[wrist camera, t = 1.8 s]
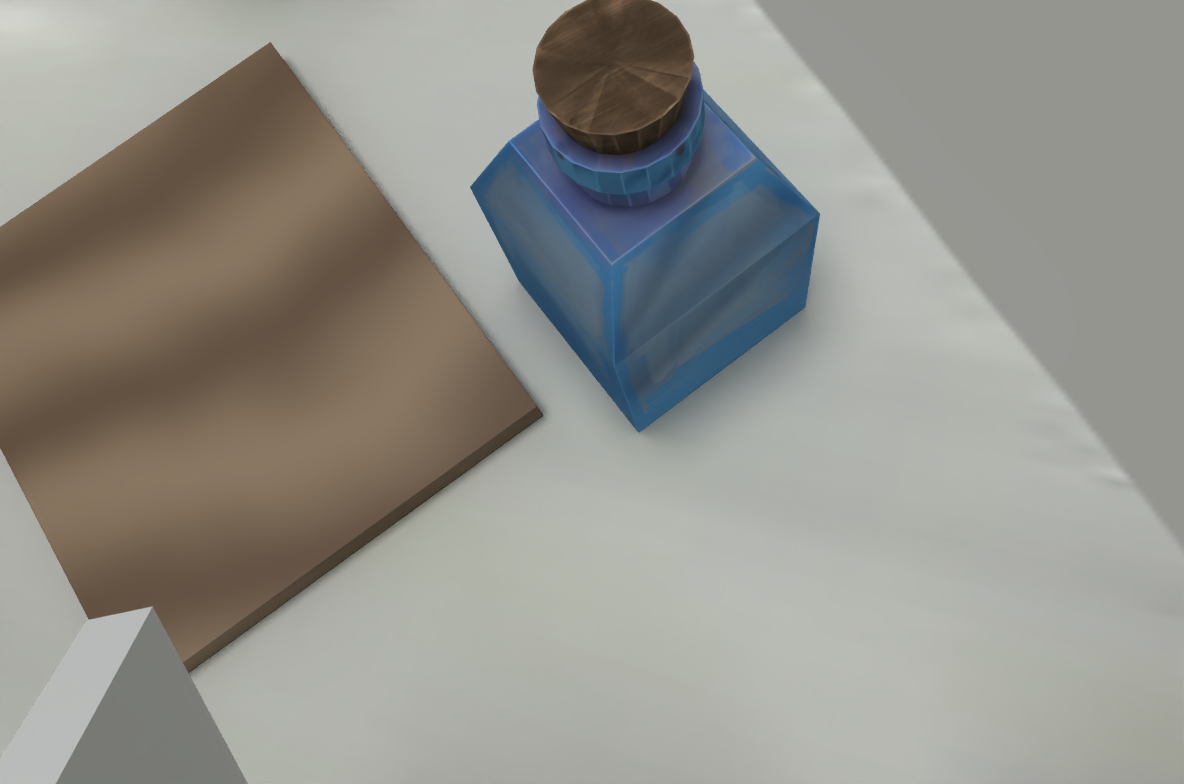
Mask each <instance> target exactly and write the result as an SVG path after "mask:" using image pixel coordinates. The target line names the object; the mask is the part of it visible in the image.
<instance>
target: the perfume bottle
mask: <svg viewBox="0 0 1184 784" xmlns="http://www.w3.org/2000/svg"><path fill="white" fill-rule="evenodd" d="M693 60H694V54H693V49H692V45H691V40H690V36H689V34H688V32H687V31H686V29H685V28H684V26H683V25H682V23H681V22H680V20H679V19H678V17H677V16H676V15H674V14H673V13H672V12H670V11H669V10H668V9H666V8H665V7H663V6H662V5H661V4H659V3H657V2H654V1H651V0H586V1H584V2H582V3H581V4H579V5H577V6H575V7H573V8H571V9H569V10H567V11H565V12H564V13H563V14H562V15H561V16H560V17H559V18H558V19H557V20H556V21H555V22H554V23H553V24H552V25H551V26H550V27H549V28H548V29H547V31H546V33H545V34H544V36H543V38H542V40H541V41H540V43H539V45H538V47H537V49H536V55H535V60H534V65H533V75H534V81H535V87H536V92H537V94H538V95H539V96H538V101H537V108H538V114H539V120H537V121H536V122H534V123H533V124H532V125H530V126H529V127H527V128H526V129H525V130H523V131H522V132H521V133H519V134H518V135H516V136H515V137H514V138H512V139H511V140H510V141H508V143H507V144H506V145H505V146H504V147H503V148H502V150H501V151H500V152H499V153H498V154H497V156H496V157H495V158H494V159H493V160H492V162H491V163H490V164H489V165H488V166H487V167H486V169H485V170H484V171H483V172H482V173H481V175H480V176H479V177H478V178H477V179H476V181H475V182H474V183H473V184H472V185H471V186H470V188H471V190H472V192H473V194H474V196H475V198H476V200H477V202H478V203H479V205H480V207H481V209H482V211H483V213H484V215H485V217H486V219H487V221H488V223H489V225H490V226H491V228H492V230H493V232H494V234H495V236H496V238H497V240H498V242H499V244H500V246H501V248H502V250H503V251H504V253H505V255H506V257H507V259H508V261H509V263H510V265H511V267H512V269H513V271H514V273H515V274H516V276H517V278H518V280H519V282H520V283H521V284H522V286H523V287H524V288H525V289H526V291H527V292H528V293H529V294H530V296H531V297H532V298H533V299H534V301H535V302H536V303H537V305H538V306H539V307H540V308H541V310H542V311H543V312H544V313H545V315H546V316H547V317H548V318H549V320H550V321H551V322H552V324H553V325H554V326H555V327H556V329H557V330H558V331H559V332H560V334H561V335H562V336H563V337H564V339H565V340H566V341H567V343H568V344H569V345H570V346H571V348H572V349H573V350H574V351H575V353H576V354H577V355H578V357H579V358H580V359H581V360H582V362H583V363H584V364H585V365H586V367H587V368H588V369H589V370H590V372H591V373H592V374H593V376H594V377H595V378H596V379H597V381H598V382H599V383H600V384H601V386H602V387H603V388H604V389H605V391H606V392H607V393H608V395H609V396H610V397H611V398H612V400H613V401H614V402H615V403H616V405H617V406H618V407H619V408H620V410H621V411H622V412H623V414H624V415H625V416H626V417H627V419H628V420H629V421H630V422H631V424H632V425H633V426H634V428H635V429H636V430H637V431H638V433H639V432H640V431H642V430H643V429H644V428H646V427H647V426H648V425H650V424H651V423H652V422H654V421H655V420H656V419H658V418H659V417H660V416H662V415H663V414H664V413H666V412H667V411H668V410H669V409H671V408H672V407H673V406H675V405H676V404H677V403H679V402H680V401H681V400H683V399H684V398H685V397H687V396H688V395H689V394H691V393H692V392H693V391H695V390H696V389H697V388H699V387H700V386H701V385H703V384H704V383H705V382H707V381H708V380H709V379H711V378H712V377H713V376H715V375H716V374H717V373H719V372H720V371H721V370H722V369H724V368H725V367H726V366H728V365H729V364H730V363H732V362H733V361H734V360H736V359H737V358H738V357H740V356H741V355H742V354H744V353H745V352H746V351H748V350H749V349H750V348H752V347H753V346H754V345H756V344H757V343H758V342H760V341H761V340H762V339H764V338H765V337H766V336H768V335H769V334H770V333H772V332H773V331H774V330H776V329H777V328H778V327H779V326H781V325H782V324H783V323H785V322H786V321H787V320H789V319H790V318H791V317H793V316H794V315H795V314H797V313H798V312H799V311H801V310H802V309H803V308H805V305H806V299H807V293H808V286H809V280H810V274H811V267H812V261H813V255H814V248H815V242H816V236H817V229H818V223H819V217H820V213H819V212H818V211H817V210H816V209H815V208H814V207H813V206H812V205H811V204H810V203H809V202H808V200H807V199H806V198H805V197H804V196H803V195H802V194H801V193H800V192H799V191H798V190H797V189H796V188H795V187H794V186H793V184H792V183H791V182H790V181H789V180H788V179H787V178H786V177H785V176H784V175H783V174H782V173H781V172H780V171H779V170H778V169H777V167H776V166H775V165H774V164H773V163H772V162H771V161H770V160H769V159H768V158H767V157H766V156H765V155H764V154H763V153H762V151H761V150H760V149H759V148H758V147H757V146H756V145H755V144H754V143H753V142H752V141H751V140H750V139H749V138H748V137H747V135H746V134H745V133H744V132H743V131H742V130H741V129H740V128H739V127H738V126H737V125H736V124H735V123H734V122H733V121H732V119H731V118H730V117H729V116H728V115H727V114H726V113H725V112H724V111H723V110H722V109H721V108H720V107H719V106H718V105H717V104H716V102H715V101H714V100H713V99H712V98H711V97H710V96H709V95H708V94H707V93H706V92H705V91H704V90H703V86H702V82H701V77H700V73H699V68H698V67H697V65H696V64H695V62H694V61H693Z"/></svg>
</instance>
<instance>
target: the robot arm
mask: <svg viewBox="0 0 1184 784" xmlns="http://www.w3.org/2000/svg"><path fill="white" fill-rule="evenodd" d="M0 784H248V783H247V781H246V780H245V778H244V776H243V774H242V772H241V770H240V768H239V767H238V765H237V763H236V761H235V759H234V757H233V755H232V753H231V752H230V750H229V748H228V746H227V744H226V742H225V740H224V739H223V737H222V735H221V733H220V731H219V729H218V727H217V725H216V724H215V722H214V720H213V718H212V716H211V714H210V712H209V711H208V709H207V707H206V705H205V703H204V701H203V699H202V697H201V696H200V694H199V692H198V690H197V688H196V686H195V684H194V683H193V681H192V679H191V677H190V675H189V673H188V671H187V670H186V668H185V666H184V664H183V662H182V660H181V658H180V656H179V655H178V653H177V651H176V649H175V647H174V645H173V643H172V642H171V640H170V638H169V636H168V634H167V632H166V630H165V628H164V627H163V625H162V623H161V621H160V619H159V617H158V615H157V614H156V612H155V610H154V608H153V606H152V607H148V608H143V609H138V610H133V611H128V612H124V613H119V614H114V615H109V616H105V617H100V618H95V619H90V620H86V622H85V623H84V625H83V627H82V628H81V630H80V631H79V633H78V635H77V636H76V638H75V639H74V641H73V643H72V644H71V646H70V647H69V649H68V651H67V652H66V654H65V655H64V657H63V659H62V660H61V662H60V663H59V665H58V667H57V668H56V670H55V671H54V673H53V675H52V676H51V678H50V679H49V681H48V683H47V684H46V686H45V687H44V689H43V691H42V692H41V694H40V695H39V697H38V699H37V700H36V702H35V703H34V705H33V707H32V708H31V710H30V711H29V713H28V715H27V716H26V718H25V719H24V721H23V723H22V724H21V726H20V727H19V729H18V731H17V732H16V734H15V735H14V737H13V739H12V740H11V742H10V743H9V745H8V747H7V748H6V750H5V752H4V753H3V755H2V756H1V758H0Z"/></svg>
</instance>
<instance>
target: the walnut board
mask: <svg viewBox="0 0 1184 784" xmlns="http://www.w3.org/2000/svg"><path fill="white" fill-rule="evenodd" d="M542 416H543V415H542V413H541V412H540V410H539V409H538V407H537V406H536V404H535V403H534V402H533V400H532V399H531V398H530V396H529V395H528V393H527V392H526V391H525V389H524V388H523V387H522V385H521V384H520V382H519V381H518V380H517V378H516V377H515V376H514V374H513V373H512V372H511V370H510V369H509V367H508V366H507V365H506V363H505V362H504V361H503V359H502V358H501V357H500V355H499V354H498V352H497V351H496V350H495V348H494V347H493V346H492V344H491V343H490V341H489V340H488V339H487V337H486V336H485V335H484V333H483V332H482V331H481V329H480V328H479V326H478V325H477V324H476V322H475V321H474V320H473V318H472V317H471V316H470V314H469V313H468V311H467V310H466V309H465V307H464V306H463V305H462V303H461V302H460V300H459V299H458V298H457V296H456V295H455V294H454V292H453V291H452V290H451V288H450V287H449V285H448V284H447V283H446V281H445V280H444V279H443V277H442V276H441V275H440V273H439V272H438V270H437V269H436V268H435V266H434V265H433V264H432V262H431V261H430V259H429V258H428V257H427V255H426V254H425V253H424V251H423V250H422V249H421V247H420V246H419V244H418V243H417V242H416V240H415V239H414V238H413V236H412V235H411V234H410V232H409V231H408V229H407V228H406V227H405V225H404V224H403V223H402V221H401V220H400V218H399V217H398V216H397V214H396V213H395V212H394V210H393V209H392V208H391V206H390V205H389V203H388V202H387V201H386V199H385V198H384V197H383V195H382V194H381V193H380V191H379V190H378V188H377V187H376V186H375V184H374V183H373V182H372V180H371V179H370V177H369V176H368V175H367V173H366V172H365V171H364V169H363V168H362V167H361V165H360V164H359V162H358V161H357V160H356V158H355V157H354V156H353V154H352V153H351V152H350V150H349V149H348V147H347V146H346V145H345V143H344V142H343V141H342V139H341V138H340V136H339V135H338V134H337V132H336V131H335V130H334V128H333V127H332V126H331V124H330V123H329V121H328V120H327V119H326V117H325V116H324V115H323V113H322V112H321V111H320V109H319V108H318V106H317V105H316V104H315V102H314V101H313V100H312V98H311V97H310V95H309V94H308V93H307V91H306V90H305V89H304V87H303V86H302V85H301V83H300V82H299V80H298V79H297V78H296V76H295V75H294V74H293V72H292V71H291V69H290V68H289V67H288V65H287V64H286V63H285V61H284V60H283V59H282V57H281V56H280V54H279V53H278V52H277V50H276V49H275V48H274V46H273V45H272V44H271V42H270V43H268V44H267V45H266V46H264V47H263V48H261V49H260V50H258V51H257V52H255V53H254V54H252V55H251V56H249V57H248V58H247V59H245V60H244V61H242V62H241V63H239V64H238V65H236V66H235V67H233V68H232V69H230V70H229V71H228V72H226V73H225V74H223V75H222V76H220V77H219V78H217V79H216V80H214V81H213V82H211V83H210V84H209V85H207V86H206V87H204V88H203V89H201V90H200V91H198V92H197V93H195V94H194V95H192V96H191V97H190V98H188V99H187V100H185V101H184V102H182V103H181V104H179V105H178V106H176V107H175V108H173V109H172V110H171V111H169V112H168V113H166V114H165V115H163V116H162V117H160V118H159V119H157V120H156V121H154V122H153V123H152V124H150V125H149V126H147V127H146V128H144V129H143V130H141V131H140V132H138V133H137V134H135V135H134V136H133V137H131V138H130V139H128V140H127V141H125V142H124V143H122V144H121V145H119V146H118V147H116V148H115V149H114V150H112V151H111V152H109V153H108V154H106V155H105V156H103V157H102V158H100V159H99V160H97V161H96V162H95V163H93V164H92V165H90V166H89V167H87V168H86V169H84V170H83V171H81V172H80V173H78V174H77V175H76V176H74V177H73V178H71V179H70V180H68V181H67V182H65V183H64V184H62V185H61V186H59V187H58V188H57V189H55V190H54V191H52V192H51V193H49V194H48V195H46V196H45V197H43V198H42V199H40V200H39V201H38V202H36V203H35V204H33V205H32V206H30V207H29V208H27V209H26V210H24V211H23V212H21V213H20V214H19V215H17V216H16V217H14V218H13V219H11V220H10V221H8V222H7V223H5V224H4V225H2V226H1V227H0V448H1V450H2V452H3V454H4V456H5V458H6V460H7V462H8V464H9V466H10V467H11V469H12V471H13V473H14V475H15V477H16V479H17V481H18V483H19V485H20V487H21V489H22V491H23V493H24V495H25V497H26V498H27V500H28V502H29V504H30V506H31V508H32V510H33V512H34V514H35V516H36V518H37V520H38V522H39V524H40V526H41V528H42V530H43V531H44V533H45V535H46V537H47V539H48V541H49V543H50V545H51V547H52V549H53V551H54V553H55V555H56V557H57V559H58V561H59V562H60V564H61V566H62V568H63V570H64V572H65V574H66V576H67V578H68V580H69V582H70V584H71V586H72V588H73V590H74V592H75V594H76V595H77V597H78V599H79V601H80V603H81V605H82V607H83V609H84V611H85V613H86V615H87V617H88V619H89V620H90V619H95V618H100V617H105V616H109V615H114V614H119V613H124V612H128V611H133V610H138V609H143V608H148V607H152V606H153V608H154V610H155V612H156V614H157V615H158V617H159V619H160V621H161V623H162V625H163V627H164V628H165V630H166V632H167V634H168V636H169V638H170V640H171V642H172V643H173V645H174V647H175V649H176V651H177V653H178V655H179V656H180V658H181V660H182V662H183V664H184V666H185V668H186V670H187V671H188V672H190V671H191V670H193V669H194V668H195V667H197V666H198V665H200V664H201V663H202V662H204V661H205V660H206V659H208V658H209V657H211V656H212V655H213V654H215V653H216V652H217V651H219V650H220V649H222V648H223V647H224V646H226V645H227V644H228V643H230V642H231V641H233V640H234V639H235V638H237V637H238V636H240V635H241V634H242V633H244V632H245V631H246V630H248V629H249V628H251V627H252V626H253V625H255V624H256V623H257V622H259V621H260V620H262V619H263V618H264V617H266V616H267V615H268V614H270V613H271V612H273V611H274V610H275V609H277V608H278V607H280V606H281V605H282V604H284V603H285V602H286V601H288V600H289V599H291V598H292V597H293V596H295V595H296V594H297V593H299V592H300V591H302V590H303V589H304V588H306V587H307V586H308V585H310V584H311V583H313V582H314V581H315V580H317V579H318V578H320V577H321V576H322V575H324V574H325V573H326V572H328V571H329V570H331V569H332V568H333V567H335V566H336V565H337V564H339V563H340V562H342V561H343V560H344V559H346V558H347V557H348V556H350V555H351V554H353V553H354V552H355V551H357V550H358V549H360V548H361V547H362V546H364V545H365V544H366V543H368V542H369V541H371V540H372V539H373V538H375V537H376V536H377V535H379V534H380V533H382V532H383V531H384V530H386V529H387V528H388V527H390V526H391V525H393V524H394V523H395V522H397V521H398V520H400V519H401V518H402V517H404V516H405V515H406V514H408V513H409V512H411V511H412V510H413V509H415V508H416V507H417V506H419V505H420V504H422V503H423V502H424V501H426V500H427V499H428V498H430V497H431V496H433V495H434V494H435V493H437V492H438V491H440V490H441V489H442V488H444V487H445V486H446V485H448V484H449V483H451V482H452V481H453V480H455V479H456V478H457V477H459V476H460V475H462V474H463V473H464V472H466V471H467V470H468V469H470V468H471V467H473V466H474V465H475V464H477V463H478V462H480V461H481V460H482V459H484V458H485V457H486V456H488V455H489V454H491V453H492V452H493V451H495V450H496V449H497V448H499V447H500V446H502V445H503V444H504V443H506V442H507V441H508V440H510V439H511V438H513V437H514V436H515V435H517V434H518V433H520V432H521V431H522V430H524V429H525V428H526V427H528V426H529V425H531V424H532V423H533V422H535V421H536V420H537V419H539V418H540V417H542Z"/></svg>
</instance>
